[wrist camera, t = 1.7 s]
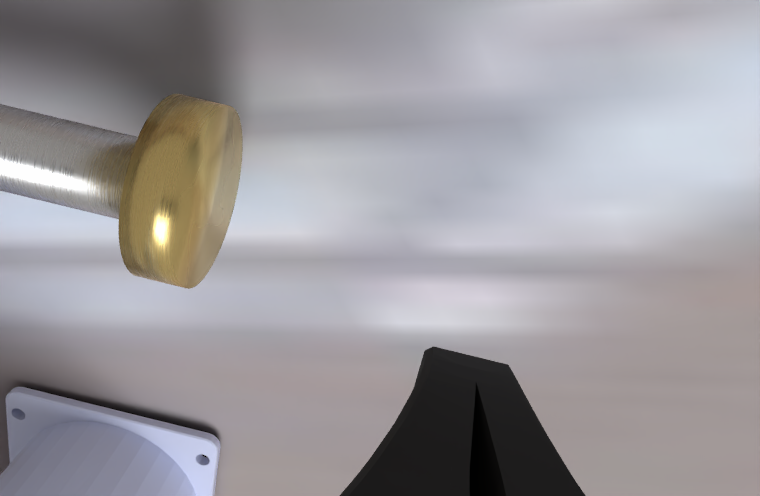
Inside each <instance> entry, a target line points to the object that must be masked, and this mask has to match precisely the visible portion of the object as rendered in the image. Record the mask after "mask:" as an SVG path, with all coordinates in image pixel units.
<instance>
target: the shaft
mask: <svg viewBox="0 0 760 496" xmlns="http://www.w3.org/2000/svg"><path fill="white" fill-rule="evenodd" d="M241 162H242V129H241V123H240V119H239V116H238V113H237V112H236V110H235V109H234V108H233V107H231V106H228V105H224V104H219V103H215V102H211V101H207V100H203V99H198V98H194V97H190V96H186V95H182V94H172V95H170V96H168V97H166V98H165V99H163V100H162V101H161V102H160V103H159V104H158V105H157V106H156V108H155V109H154V110H153V111H152V113H151V114H150V116H149V117H148V119H147V120H146V122H145V124H144V126H143V128H142V130H141V132H140V134H139V136H138V137H136V136H132V135H127V134H123V133H119V132H115V131H111V130H107V129H102V128H98V127H94V126H90V125H86V124H81V123H77V122H73V121H69V120H65V119H61V118H56V117H52V116H48V115H44V114H40V113H35V112H31V111H27V110H23V109H19V108H15V107H10V106H6V105H2V104H0V191H4V192H9V193H13V194H17V195H21V196H25V197H29V198H33V199H38V200H42V201H46V202H50V203H54V204H58V205H62V206H66V207H71V208H75V209H79V210H83V211H87V212H91V213H95V214H100V215H104V216H108V217H112V218H116V219H119V243H120V249H121V255H122V258H123V261H124V263H125V265H126V267H127V269H128V270H129V271H130V273H132V274H133V275H135V276H139V277H143V278H147V279H151V280H155V281H159V282H163V283H167V284H171V285H176V286H180V287H184V288H188V289H189V288H193V287H195V286H196V285H198V284H199V283H200V282H201V281H202V280H203V278H204V277H205V276H206V274H207V273H208V272H209V270H210V268H211V266H212V265H213V263H214V261H215V259H216V257H217V255H218V253H219V250H220V248H221V245H222V243H223V240H224V238H225V235H226V232H227V229H228V226H229V223H230V219H231V216H232V212H233V208H234V204H235V200H236V195H237V190H238V185H239V179H240V172H241Z"/></svg>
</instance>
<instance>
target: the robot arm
mask: <svg viewBox="0 0 760 496" xmlns="http://www.w3.org/2000/svg"><path fill="white" fill-rule="evenodd" d="M5 401H6V415H7V430H8V445H9V460H10V464H9V466H8V467H7V468H6V469H5V470H4V471H3V472H2V474H1V475H0V496H214V493H215V485H216V477H217V469H218V461H219V454H220V442H219V440H218V438H216V437H215V436H214V435H212V434H210V433H207V432H203V431H199V430H195V429H191V428H187V427H182V426H178V425H174V424H170V423H166V422H162V421H158V420H154V419H150V418H146V417H142V416H138V415H134V414H130V413H126V412H122V411H118V410H114V409H110V408H106V407H102V406H98V405H94V404H90V403H86V402H82V401H78V400H73V399H69V398H65V397H61V396H57V395H53V394H49V393H45V392H41V391H37V390H33V389H29V388H25V387H15V388H13V389H12V390H11V391H10V392H9V393H8V394H7V395H6V399H5ZM21 410H22V411H21ZM201 454H203V455H205V456H207V457H208V458H206V457H204V456H202V455H201ZM340 496H585V494H584V493H583V492H582V490H581V489H580V487H579V486H578V484H577V483H576V481H575V480H574V478H573V477H572V475H571V474H570V472H569V470H568V469H567V467H566V465H565V464H564V462H563V460H562V459H561V457H560V455H559V454H558V452H557V451H556V449H555V447H554V446H553V444H552V442H551V441H550V439H549V437H548V436H547V434H546V432H545V430H544V429H543V427H542V425H541V423H540V421H539V420H538V418H537V416H536V414H535V412H534V411H533V409H532V407H531V405H530V403H529V402H528V400H527V398H526V396H525V394H524V392H523V390H522V389H521V387H520V385H519V383H518V381H517V379H516V378H515V376H514V374H513V372H512V370H511V369H510V367H509V365H507V364H503V363H499V362H495V361H490V360H486V359H482V358H478V357H474V356H470V355H466V354H462V353H458V352H454V351H449V350H445V349H441V348H437V347H432V348H429V349H427V350H425V351H424V355H423V358H422V362H421V365H420V369H419V372H418V376H417V379H416V383H415V386H414V389H413V391H412V393H411V395H410V397H409V399H408V400H407V402H406V404H405V406H404V408H403V409H402V411H401V413H400V415H399V416H398V418H397V420H396V422H395V423H394V425H393V426H392V428H391V429H390V431H389V432H388V434H387V435H386V436H385V438H384V439H383V441H382V442H381V444H380V445H379V447H378V448H377V449H376V451H375V452H374V454H373V455H372V457H371V458H370V459H369V461H368V462H367V463H366V464H365V466H364V467H363V468H362V470H361V471H360V472H359V473H358V475H357V476H356V477H355V478H354V480H353V481H352V482H351V483H350V484H349V486H348V487H347V488H346V489H345V490H344V491H343V492H342V494H341V495H340Z"/></svg>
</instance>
